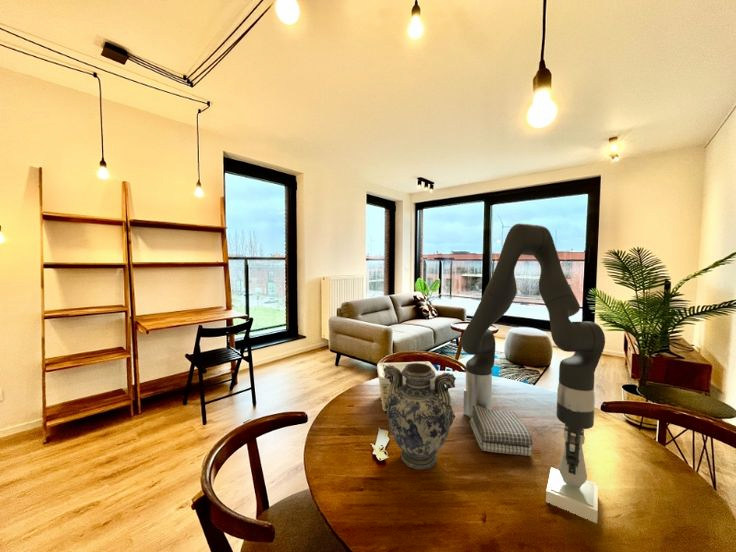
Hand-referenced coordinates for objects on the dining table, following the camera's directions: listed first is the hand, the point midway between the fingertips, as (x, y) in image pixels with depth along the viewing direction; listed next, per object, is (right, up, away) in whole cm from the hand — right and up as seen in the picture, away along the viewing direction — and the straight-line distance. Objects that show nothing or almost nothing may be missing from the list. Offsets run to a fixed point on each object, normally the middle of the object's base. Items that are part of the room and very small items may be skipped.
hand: (572, 469), depth 74 cm
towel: (-7, -6, +25) cm, 27 cm away
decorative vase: (-36, -7, +16) cm, 40 cm away
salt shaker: (0, -3, 0) cm, 3 cm away
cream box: (-35, -5, +50) cm, 61 cm away
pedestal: (0, -8, 0) cm, 8 cm away
